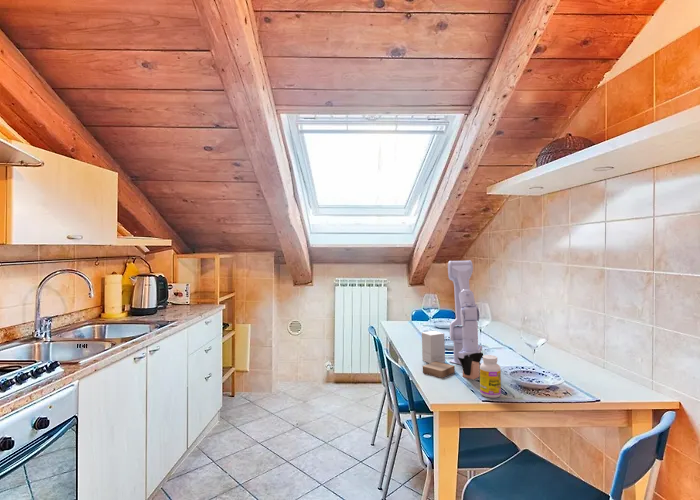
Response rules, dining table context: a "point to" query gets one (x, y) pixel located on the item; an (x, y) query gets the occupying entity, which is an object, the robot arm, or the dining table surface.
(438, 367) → the walnut box
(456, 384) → the dining table surface
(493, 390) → the supplement bottle
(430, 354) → the supplement box
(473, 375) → the terracotta block
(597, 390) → the dining table surface
